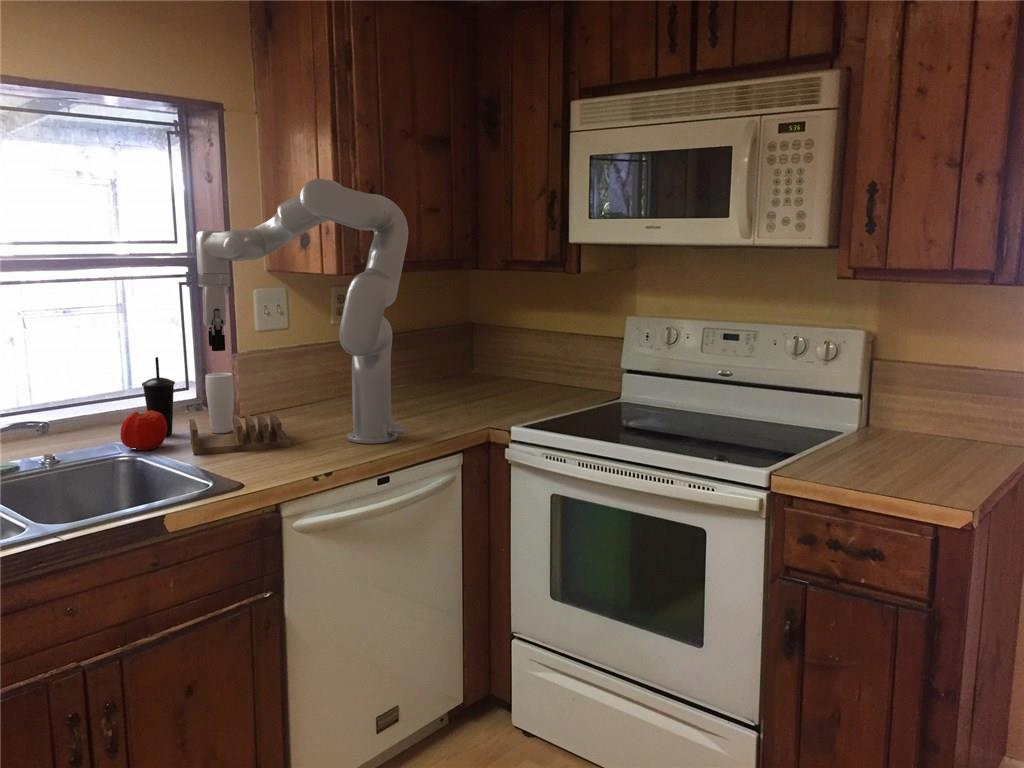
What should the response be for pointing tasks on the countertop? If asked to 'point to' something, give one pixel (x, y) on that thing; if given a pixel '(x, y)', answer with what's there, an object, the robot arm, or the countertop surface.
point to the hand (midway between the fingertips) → (217, 348)
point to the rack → (242, 436)
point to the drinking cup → (160, 397)
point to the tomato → (144, 430)
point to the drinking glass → (220, 401)
